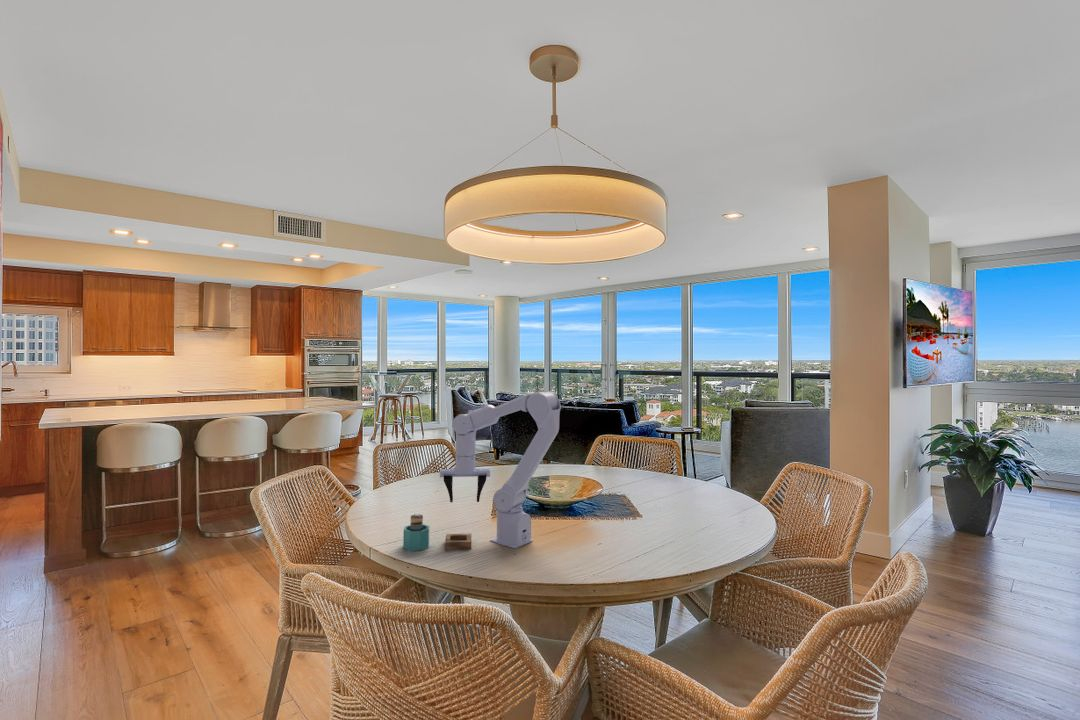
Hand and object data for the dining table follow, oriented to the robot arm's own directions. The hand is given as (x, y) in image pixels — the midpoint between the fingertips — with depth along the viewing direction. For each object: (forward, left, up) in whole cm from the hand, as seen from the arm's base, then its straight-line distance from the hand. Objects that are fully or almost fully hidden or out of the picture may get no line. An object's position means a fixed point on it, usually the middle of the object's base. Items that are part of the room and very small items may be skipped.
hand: (464, 501), depth 157 cm
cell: (+2, +16, -9) cm, 18 cm away
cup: (+2, +16, -9) cm, 19 cm away
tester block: (-6, +8, -9) cm, 14 cm away
